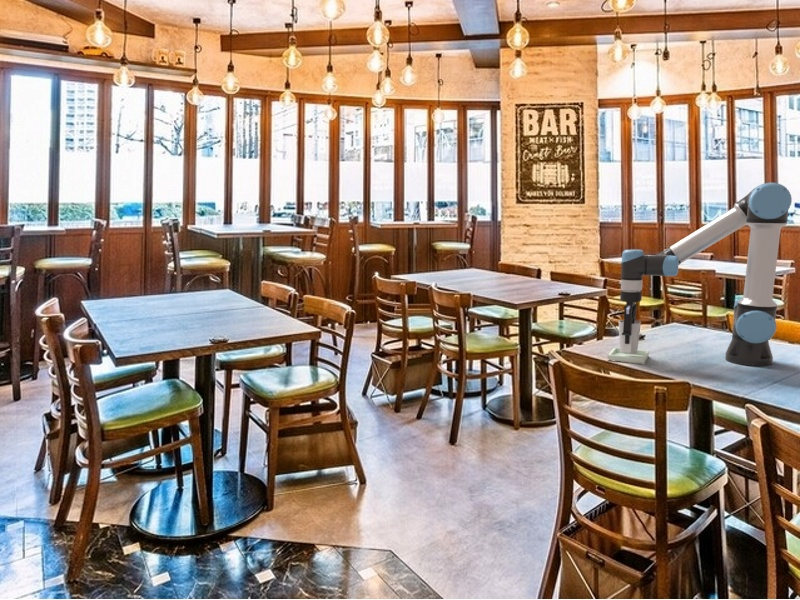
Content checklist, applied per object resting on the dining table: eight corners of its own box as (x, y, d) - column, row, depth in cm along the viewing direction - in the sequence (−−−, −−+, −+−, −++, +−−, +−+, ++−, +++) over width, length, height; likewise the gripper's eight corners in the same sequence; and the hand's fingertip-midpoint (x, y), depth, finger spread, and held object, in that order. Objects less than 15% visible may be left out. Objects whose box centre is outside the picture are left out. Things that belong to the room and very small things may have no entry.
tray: (648, 356, 224) (648, 350, 224) (644, 364, 213) (644, 358, 213) (613, 352, 230) (613, 347, 230) (607, 360, 219) (607, 354, 219)
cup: (641, 355, 217) (643, 323, 215) (619, 354, 218) (620, 323, 216) (637, 350, 224) (638, 319, 223) (615, 349, 226) (617, 319, 224)
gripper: (624, 286, 228) (622, 343, 232) (616, 293, 211) (613, 354, 214) (645, 287, 224) (642, 345, 228) (637, 294, 207) (635, 356, 211)
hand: (628, 349), depth 221 cm, fingers closed on cup, 7 cm apart
